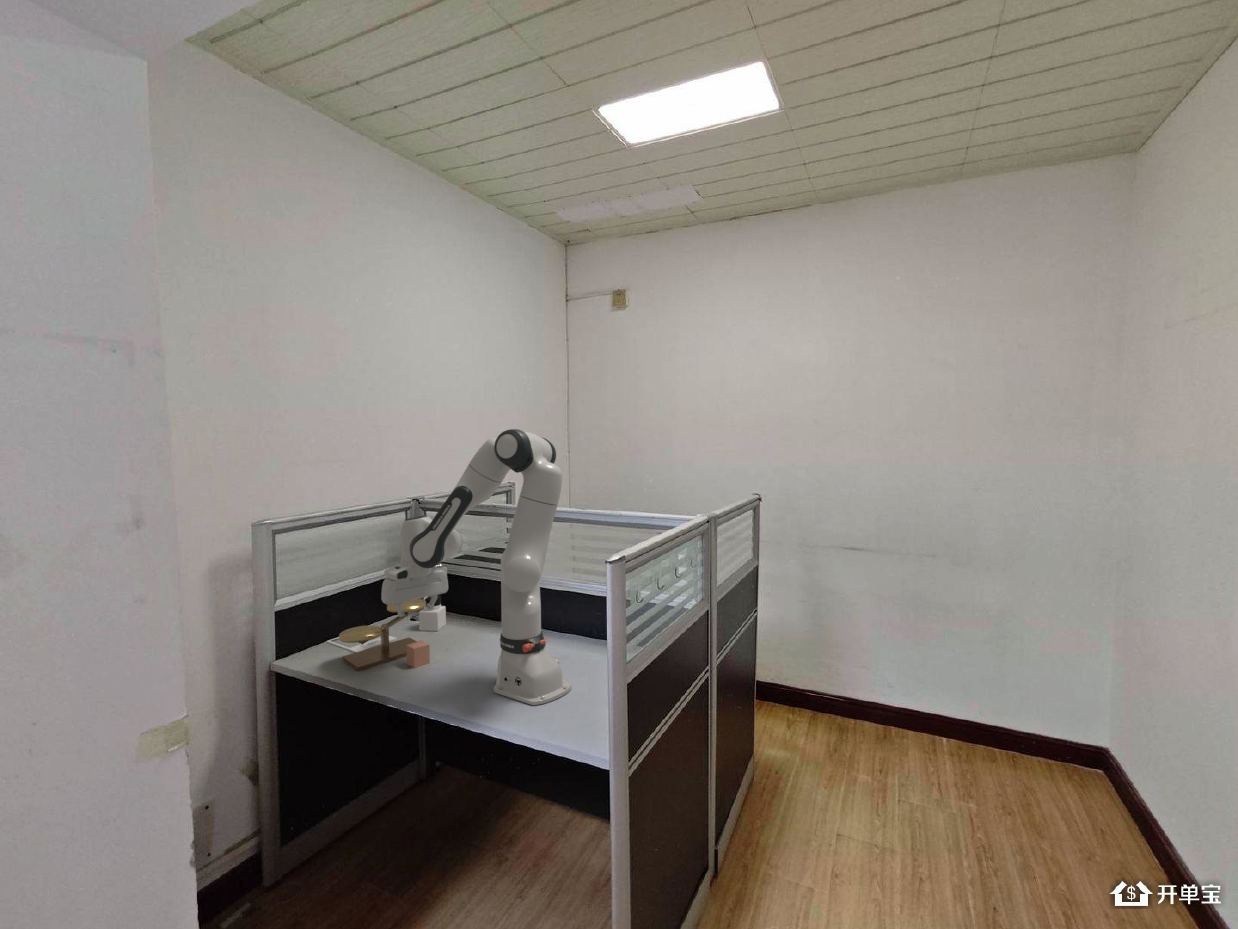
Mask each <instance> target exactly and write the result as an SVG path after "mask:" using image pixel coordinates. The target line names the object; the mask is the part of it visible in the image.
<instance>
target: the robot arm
mask: <svg viewBox="0 0 1238 929" xmlns="http://www.w3.org/2000/svg"><path fill="white" fill-rule="evenodd" d="M556 459H557V450H556V448H555V446H554V445H553V443H552V442H551V441H549V440H548V439H547V438H544V437H541V436H539V435H538V434H535V433H533V432H530V431H526V430H521V429H519V428H518V429H516V428H513V429H512V428H510V429H506V430H504V431H502V432H500V434H499V435H497V437H490V438H488V439H487V440H485V442H484V443H483V444H482V445H481V447H480V448H478V450H477V452H476V453H475V454H474V455H473V457H472V459H471V460H470V461H469V463H468V465H467V467H465V469H464V472H463V473H462V474H461V477H460V479H459V481H458V482H457V484H455V487H454V488H453V490H452V491H451V493H450V494H449V496H448V497H447V499H446V500H445V501H444V503H442V506H441V507H440V508H439V510H437V513H436V514H435V516H434V517H433V518H431V517H430V516H428V515H416V516H413V517H409V518H406V519H405V520H403V522H402V525H401V530H400V549H401V556H400V562H399V563H397V564H395V565H393V566H391V567H389V568H387V569H385V570H384V573H383V574H384V578H385V577H386V578H385V579H384V580H383V582H382V585H381V597H380V598H381V602H382V603H383V604H385V605H386V606H387V605H392V604H394V606H395V608H396V609H397V610H398V613H397V617H398V616H399V617H402V616H405V610H403V609H401V608H400V606H401V605H402V602H406V601H410V600H415V599H424V597H429V596H430V597H431V600H430V603H428V604H427V609H428V610H432V609H434V604H435V602H436V600H437V595H442V594H446V593H447V592H448V590H449V580H448V579H449V578H448V567H447V566H446V565H445V564H442V562H444V561H446V560H449V559H450V558H452V557H454V556H455V555H456V554H458V553H460V551H461V548H462V546H463V538H462V536H461V534H460V532H459V531H458V530H457V529H456V526H457V525H458V523H459V521H461V520H462V518H463V517H464V516H465V515H466V513H468V512H469V511H470V510H472V509H473V508H475V507H477V506H479V505H481V504H482V503H484V502H486V501H488V500H489V499H490V498H491V497H492V496H493V495H494V494H495V493H496V492H497V490H498V488H499V487H500V486H501V485H502V483H503V481H504V479H505V478H506V477H507V474H508V473H509V471H510V470H511V471H513V472H514V473H521V474H522V478H523V479H522V480H523V483H522V486H521V490H520V493H519V497H518V501H517V504H516V508H515V511H514V515H513V519H512V522H511V527H510V532H509V536H508V540H507V543H506V544H507V545H506V547H505V550H504V551H503V552H502V555H501V558H500V583H501V584H500V592H501V597H500V598H501V600H500V602H501V604H500V606H501V633H500V638H499V642H500V643H499V646H500V648H501V651H500V655H499V657H498V660H497V661H498V662H497V670H496V684H495V685H494V686H493V693H494V694H498V695H501V696H505V697H507V698H510V699H511V700H512V699H513V700H516V701H519V702H522V703H524V704H528V705H530V706H531V705H532V706H537V705H543V704H546V703H549V702H552V701H555V700H557V699H559V698H561V697H563V696H564V695H566V694H567V693H569V692H570V691H571V689H572V683H570V682H568V681H567V680H566V679H564V678H563V671H562V668H561V664H560V661H559V659H558V658H555V657H554V656H553V655H552V653H551V652H550V651H549V649H548V648H547V644H546V643H547V640H548V638H545V637H544V636H545V635H544V633H543V630H542V606H541V605H542V602H541V586H540V580H541V577H542V575H543V569H544V565H545V559H546V556H547V552H548V546H549V541H550V535H551V530H552V527H553V524H554V519H555V515H556V512H557V509H558V504H559V501H560V496H561V490H562V484H563V473H562V472H563V471H562V470H561V469H560V467H559V466H558V465H556V464H555V463H556Z"/></svg>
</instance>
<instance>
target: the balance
mask: <svg viewBox="0 0 1238 929" xmlns="http://www.w3.org/2000/svg"><path fill="white" fill-rule="evenodd" d="M425 606H426V601H425V600H424V598H420V599H415V600H410V601H406V602H402V605H401V606H400V608H401V609H403V610H405V616H402V617H399V616H398V615H397V616H395V617H394V618H393V619H392V620H391V619H390V621H388V622H386V623H382V624H381V625H380V626H377V625H359V626H354V627H350V628H347V629H344V630H342V631H341V632H340V633H339V635H338V637H339V639H338V640H339V641H340V642H342V643H349V644H350V643H354V644H355V643H359V644H364V643H366V642H369V641H372V640H375V639H377V638H379V637H380V638H381V645H380V646H377V647H374V648H370V649H367V650H363V651H360V652H356V653H354V652H352V653H350V654H347V655H343V656H341V661H343V662H344V663H345V664H347V665H348V666H349V667H351V668H352V669H354V670H355V671H356V672H360V671H362V670H364V671H365V670H367V669H369V668H373V667H376V666H379V665H383V664H386V663H388V662H393V661H396V660H399V659H402V658H405V657H406V658H407V656H406V645H408V644H411V643H414V642H418V641H417V640H415V639H413V638H411V637H406V638H402V639H399V640H398V639H397V640H394V641H392V642H389V636H390V631H389V630H390V628H391V627H393V626H394V625H395V624H397V623H399V622H400V621H402V620H404V619H406V618H407V617H408V616H409V614H410V613H412V612H416V611H421V610H422V609H424V607H425ZM386 610H387V612H390V613H397V614H398V610H397V609H396V608H395V606H394V604H392V605H387V604H386Z"/></svg>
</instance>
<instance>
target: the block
mask: <svg viewBox="0 0 1238 929" xmlns="http://www.w3.org/2000/svg"><path fill="white" fill-rule="evenodd" d="M430 649H431V648H430V644H429V643H428V642H425V641H423V640H418V641H417V642H414V643H411V644H408V645H406V665H408V666H410V667H411V668H413V669H416V668H420V667H423V666H425V665H426V666H427V665H428V664H430V661H431V654H430Z"/></svg>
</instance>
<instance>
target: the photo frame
mask: <svg viewBox="0 0 1238 929" xmlns="http://www.w3.org/2000/svg"><path fill="white" fill-rule="evenodd" d="M335 640H339V636H338V637H335V638H331V639H329V640H327V641H326V643H327V644H330V645H333V646H335V647H339V648H341V649H343V650H346V651H349V652H352V653H356V652H360V651H363V650H367V649H370V648H374V647H377V646H381V637H377V638H374V639H371V640H369V641H367V642H366V643H364V644H361V643H359V644H357V645H355V646H352V647H347V646H345V645H342V644H339V643H337V642H334V641H335ZM395 641H398V637H395V636H391V635H389V643H391V642H395Z"/></svg>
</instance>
